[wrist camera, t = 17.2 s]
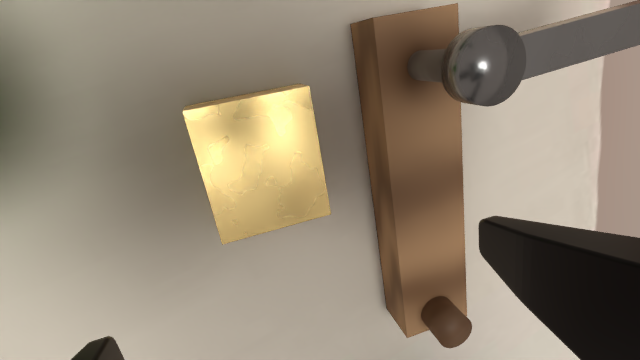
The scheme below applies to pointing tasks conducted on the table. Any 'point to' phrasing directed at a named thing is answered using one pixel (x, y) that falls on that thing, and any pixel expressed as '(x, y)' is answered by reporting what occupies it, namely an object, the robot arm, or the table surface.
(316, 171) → the gold metal plate
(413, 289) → the body
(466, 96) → the lever
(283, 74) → the table surface
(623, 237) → the robot arm
